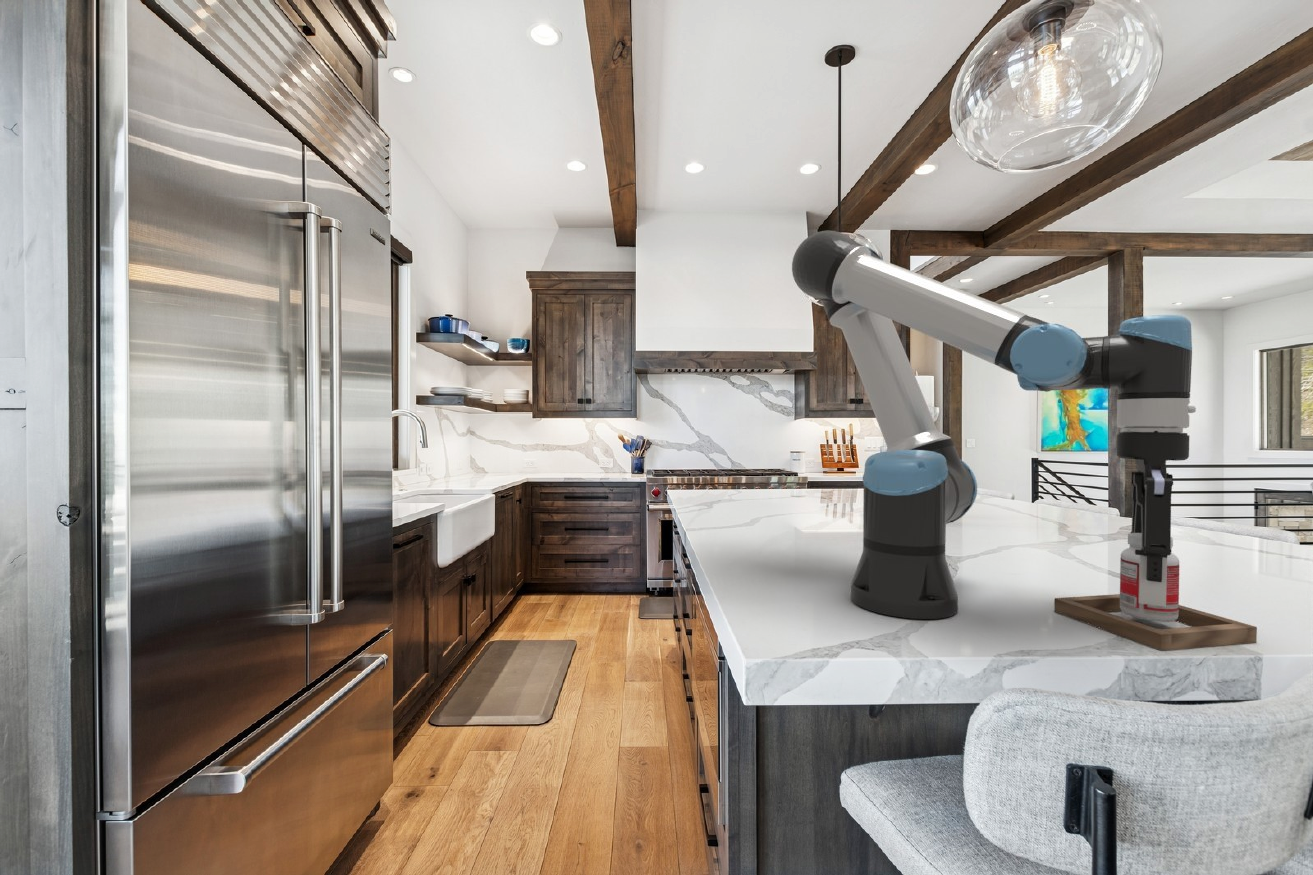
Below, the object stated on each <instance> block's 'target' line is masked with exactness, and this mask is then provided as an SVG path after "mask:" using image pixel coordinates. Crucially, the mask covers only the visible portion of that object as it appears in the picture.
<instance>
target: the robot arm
mask: <svg viewBox="0 0 1313 875" xmlns="http://www.w3.org/2000/svg"><path fill="white" fill-rule="evenodd" d="M791 272H792V277H793V280H794V282H795V284H796V286H797V287H798V289H800V290H801V291H802V293H804V294H806V295H807V296H808V297H812V298H813V299H817V300H819V301H821V303H822V305H823V308H824V312H825V313H826V317H827V319H828V321H829V324H830V325H831V326H832V327H835V328H837V329H840V330H841V331H842V333H843V336H844V339H845V341H846V344H847V346H848V349H849V351H850V355H851V357H852V360H853V362H854V365H855V367H856V370H857V373H858V375H859V378H860V381H861V383H862V385H863V388H864V391H865V393H866V396H867V398H868V401H869V403H870V406H871V409H872V411H873V413H874V416H875V420H876V421H877V424H878V427H879V430H880V432H881V435H882V437H883V440H884V442H885V445H886V451H882V452H876V453H874V454H872V455H870V456H868V457H867V459H866V460H865V461H864V462H865V463H864V471H863V472H864V473H863V474H862V482H863V524H862V525H863V528H862V529H863V532H862V533H863V537H862V543H863V544H862V545H863V546H862V552H861V556H860V559H859V561H858V564H857V566H856V570H855V573H854V574H853V578H852V580H851V583H850V600H851V601H852V602H853V603H854V604H856V605H857V606H858V607H861V608H862V609H865V610H868V611H871V612H875V613H876V614H877V613H878V614H883V615H884V616H885V615H886V616H891V617H896V618H898V617H899V618H903V619H914V620H915V619H917V620H918V619H919V620H934V619H935V620H938V619H945V618H950V617H952V616H954V615H956V614H957V613H958V607H959V605H958V604H959V599H958V598H959V597H958V592H957V590H956V585H955V583H954V580H953V577H952V574H951V571H950V568H949V565H948V562H947V558H946V540H947V539H946V538H947V536H946V535H947V534H946V533H947V531H946V530H947V529H946V528H947V527H946V526H947V524H949V523H954V522H956V521H958V520H959V519H961V518H962V517H964V515H966V514H967V513H968V511H970V509H971V508H972V507H973V505H974V503H975V502H976V498H977V494H978V482H977V479H976V476H975V473H974V471H973V470H972V469H971V467H970V466H969V465H968V464H967V463H966V462H964V461H963V460H962V459H961V458H960V456H959V453H958V451H957V449H956V446H955V444H954V441H953V440H952V437H951V436H949V435H948V434H945V433H942V432H940V431H939V430H938V428H937V426H936V424H935V421H934V418H933V416H932V413H931V411H930V409H929V406H928V404H927V401H926V399H925V397H924V394H923V392H922V389H921V388H920V384H919V382H918V380H917V378H916V377H917V376H916V375H915V373H914V370H913V368H912V365H911V363H910V360H909V358H908V356H907V352H906V351H905V349H904V346H903V344H902V341H901V339H900V336H899V334H898V332H897V329H896V327H895V323H894V322H897V323H899V324H901V325H903V326H906V327H908V328H910V329H912V330H915V331H917V332H920V333H922V334H924V335H926V336H929V337H931V338H933V339H936V340H938V341H940V342H943V343H945V344H947V345H948V346H952V347H954V348H956V349H957V350H961V351H963V352H964V353H967V354H969V355H972V356H975V357H977V358H978V359H979V358H980V359H981V360H984V361H986V362H988V363H990V364H993V365H995V366H997V367H998V368H1001V369H1003V370H1005V371H1007V372H1009V373H1012V374H1014V375H1016V378H1017V382H1018V385H1019V387H1020V388H1021V389H1022V390H1024V391H1039V392H1045V393H1048V392H1051V391H1074V390H1075V391H1076V390H1093V389H1095V390H1096V389H1117V392H1118V393H1117V400H1116V402H1117V403H1116V427H1117V428H1119V429H1121V431H1120V432H1118V434H1116V456H1117V458H1120V459H1125V460H1126V459H1127V460H1138V461H1137V467H1136V470H1135V471H1131V472H1130V482H1131V485H1132V486H1131V487H1132V488H1131V499H1132V505H1131V507H1132V508H1131V511H1132V513H1131V530H1130V533H1142V549H1141V550H1135V555H1140V558H1139V598H1138V602H1139V603H1141V604H1148V605H1155V606H1162V607H1166V587H1167V556H1168V555H1171V553H1172V549H1170V548H1171V537H1172V536H1171V534H1172V532H1171V531H1172V527H1171V525H1172V524H1171V523H1172V522H1171V521H1172V491H1173V490H1172V489H1173V486H1174V480H1173V474H1169V472H1167V461H1175V462H1176V461H1177V462H1178V461H1180V462H1181V461H1186V460H1188V458H1189V457H1190V435H1188V432H1184V429H1187V428H1189V427H1190V414H1195V413H1196V411H1197V410H1196V409H1197V407H1195V406H1194V405H1189V404H1190V403H1191V401H1190V399H1191V384H1192V365H1193V363H1192V361H1193V342H1192V341H1193V339H1192V323H1191V321H1190V320H1189V319H1188V318H1187V317H1185V316H1183V315H1178V314H1158V315H1157V314H1155V315H1147V316H1141V317H1140V316H1139V317H1134V318H1129V319H1125V320H1124V321H1122V322H1121V323H1120V325H1119V329H1118V331H1117V334H1111V335H1104V336H1094V337H1093V336H1091V337H1081V335H1079V334H1078V333H1077V332H1076V331H1075V330H1073V329H1071V328H1069V327H1066V326H1064V325H1061V324H1058V323H1049V322H1047V321H1045V320H1042V319H1039V318H1036V317H1033V316H1030V315H1028V314H1026V313H1023V312H1021V311H1018V310H1015V309H1012V308H1010V307H1008V306H1005V305H1002V304H1000V303H997V302H994V301H992V300H989V299H987V298H984V297H981V296H978V295H975V294H973V293H970V292H968V291H966V290H962V289H959V288H957V287H954V286H951V285H949V284H947V283H944V282H941V281H939V280H936V279H933V278H930V277H928V276H925V275H923V274H920V273H917V272H915V271H912V270H910V269H907V268H905V267H901V266H899V265H896V264H893V263H891V262H889V261H887V260H886V261H885V260H883V258H882V256H880V255H878V253H877V252H876V251H875V250H873V249H872V248H871V247H868V246H866V245H863V244H861V243H859V242H857V241H856V240H855V239H853V238H851V237H849V236H848V235H846V234H844V233H842V232H840V231H835V230H822V231H818V232H814V233H813V234H811V235H809V236H808V237H807V238H805V239H804V240H802V242H801V243H800V244H799V246H798V247H797V249H796V250H795V252H794V254H793V257H792V263H791ZM1153 544H1156V545H1153Z"/></svg>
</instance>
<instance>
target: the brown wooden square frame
mask: <svg viewBox="0 0 1313 875" xmlns="http://www.w3.org/2000/svg"><path fill="white" fill-rule="evenodd" d="M1053 601H1054V602H1053V603H1054V604H1053V605H1054V606H1053V607H1054V608H1053V610H1054V611H1053V612H1054V613H1057V614H1060V615H1062V616H1066V617H1068V618H1070V619H1074V620H1076V621H1079V622H1082V623H1085V624H1087V623H1089V624H1088V625H1090V624H1091V625H1090V626H1092V625H1093V626H1092V627H1095V626H1096V628H1098V627H1100V628H1102V629H1101V630H1103V629H1104V630H1103V631H1107V632H1108V633H1112V634H1115V635H1117V636H1120V637H1122V638H1125V639H1128V640H1130V641H1133V642H1136V643H1139V644H1142V645H1144V646H1147V647H1150V646H1151V647H1150V648H1152V647H1153V648H1152V649H1155V648H1156V650H1158V649H1159V650H1158V651H1160V650H1165V651H1173V650H1175V649H1176V650H1186V649H1196V648H1198V649H1199V648H1208V647H1219V646H1233V644H1234V645H1242V644H1255V643H1257V642H1258V641H1257V638H1258V637H1257V636H1258V634H1257V633H1258V632H1257V631H1258V627H1257V626H1255V625H1251V624H1249V623H1248V624H1247V623H1246V622H1245V623H1244V622H1242V621H1241V622H1240V621H1237V620H1233V619H1230V618H1227V617H1224V616H1223V617H1222V616H1219V615H1216V614H1212V613H1210V612H1209V613H1208V612H1206V611H1203V610H1198V609H1195V608H1192V607H1188V606H1185V605H1180V604H1179V613H1178V618H1177V619H1176V621H1175V622H1177V621H1179V622H1178V623H1180V622H1181V624H1184V623H1185V624H1184V625H1187V624H1188V625H1187V627H1185V626H1184V627H1177V628H1176V627H1175V628H1173V627H1172V628H1163V629H1162V628H1161V629H1159V628H1156V627H1153V626H1149V625H1147V624H1144V623H1140V622H1137V621H1134V620H1131V619H1128V618H1125V617H1122V616H1119V615H1116V614H1113V613H1111V612H1122V611H1121V609H1120V593H1117V594H1116V593H1115V594H1102V595H1101V594H1099V595H1084V596H1083V595H1082V596H1068V597H1054V600H1053ZM1100 628H1099V629H1100ZM1176 650H1175V651H1176Z"/></svg>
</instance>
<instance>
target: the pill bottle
mask: <svg viewBox="0 0 1313 875" xmlns="http://www.w3.org/2000/svg"><path fill="white" fill-rule="evenodd" d="M1126 542H1127V544H1128V545H1129V547H1128V548H1125V549H1123V550H1122V551H1121V553H1120V559H1119V560H1120V565H1119V566H1120V568H1119V569H1120V570H1119V571H1120V572H1119V594H1120V609H1121V611H1120V612H1122V613H1124V614H1126V615H1129V616H1131V617H1134V618H1138V619H1143V620H1147V621H1154V622H1173V621H1174V620H1176V619H1177V618H1178V613H1179V605H1180V602H1179V601H1180V559H1179V558H1178V556H1177V555H1176V554H1174V553H1172V552H1171V555H1168V556H1167V587H1166V607H1162V606H1155V605H1148V604H1141V603H1139V602H1138V598H1139V558H1140V555H1135V550H1141V549H1142V533H1131V532H1130V533H1128V534H1127V541H1126ZM1153 545H1156V544H1153ZM1173 546H1174V540H1173V537H1172V536H1171V548H1170V549H1171V550H1172V548H1173ZM1174 622H1175V621H1174Z"/></svg>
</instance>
